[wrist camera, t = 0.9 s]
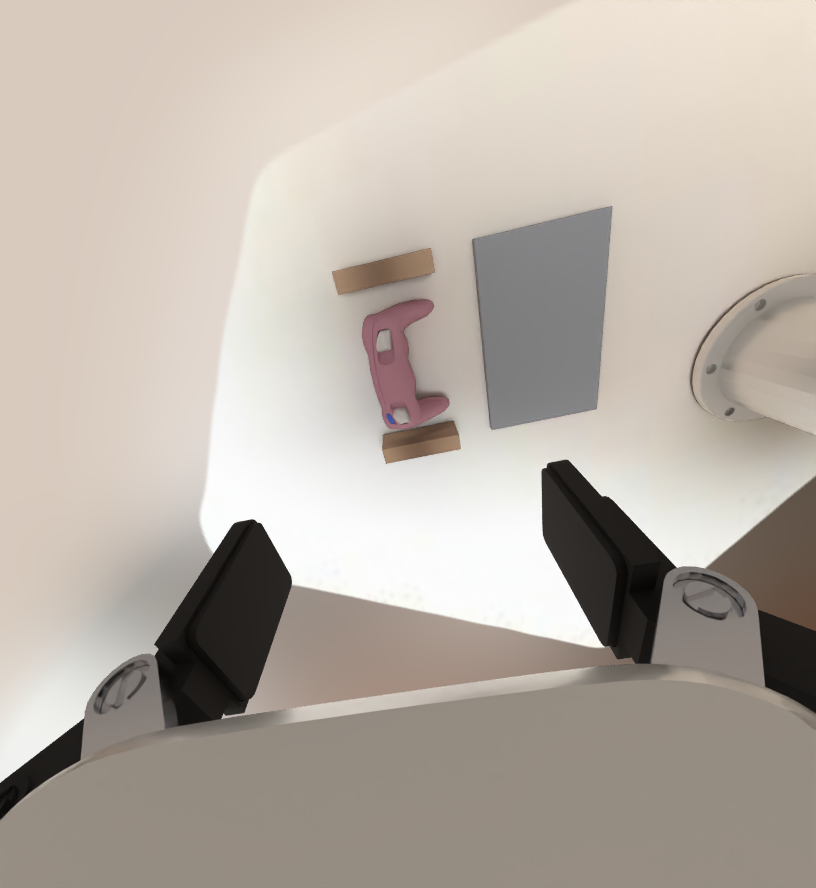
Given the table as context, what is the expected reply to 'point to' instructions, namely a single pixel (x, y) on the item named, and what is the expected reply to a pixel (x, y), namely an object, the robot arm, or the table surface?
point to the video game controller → (397, 365)
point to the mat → (543, 316)
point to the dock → (383, 273)
